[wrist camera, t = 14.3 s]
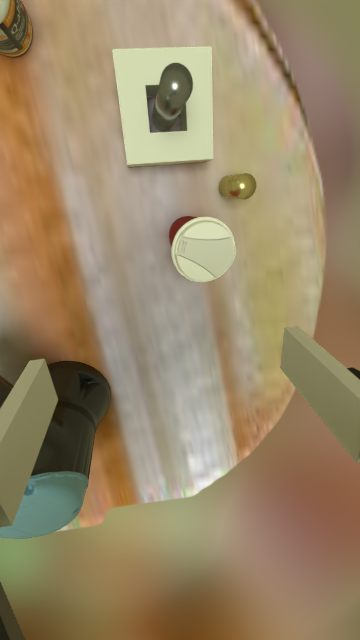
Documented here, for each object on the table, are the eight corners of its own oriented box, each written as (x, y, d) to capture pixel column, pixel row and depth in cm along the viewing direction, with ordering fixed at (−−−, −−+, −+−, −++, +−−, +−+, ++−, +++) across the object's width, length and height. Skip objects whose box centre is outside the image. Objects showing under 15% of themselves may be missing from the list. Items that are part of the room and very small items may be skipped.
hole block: (128, 167, 40) (127, 164, 36) (115, 66, 35) (112, 49, 31) (204, 161, 41) (213, 158, 37) (202, 63, 36) (211, 46, 32)
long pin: (153, 131, 39) (161, 105, 26) (150, 104, 37) (158, 63, 25) (175, 130, 39) (193, 103, 26) (173, 103, 38) (192, 62, 25)
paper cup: (156, 251, 46) (164, 276, 33) (170, 202, 43) (184, 208, 30) (202, 264, 47) (226, 292, 35) (217, 217, 45) (249, 229, 32)
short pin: (217, 197, 43) (232, 198, 37) (219, 175, 42) (235, 173, 36) (236, 197, 44) (254, 199, 37) (238, 176, 43) (257, 173, 36)
